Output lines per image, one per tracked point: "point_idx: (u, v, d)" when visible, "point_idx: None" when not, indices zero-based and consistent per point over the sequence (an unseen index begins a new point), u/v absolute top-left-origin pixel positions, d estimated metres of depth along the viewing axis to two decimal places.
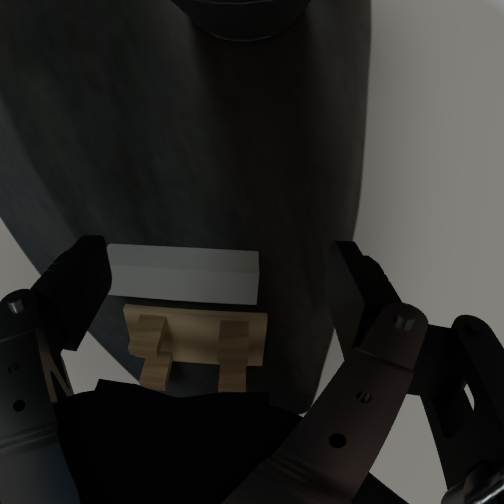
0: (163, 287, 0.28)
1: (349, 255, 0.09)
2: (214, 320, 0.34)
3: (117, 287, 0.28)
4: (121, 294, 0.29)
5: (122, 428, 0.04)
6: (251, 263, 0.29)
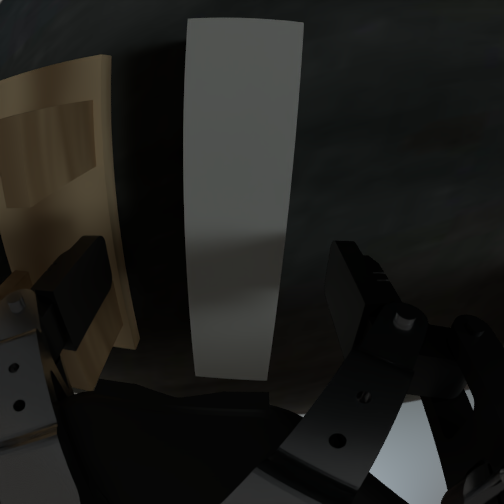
0: (226, 212, 0.11)
1: (349, 255, 0.09)
2: None
3: (216, 71, 0.09)
4: (191, 82, 0.09)
5: (122, 428, 0.04)
6: None
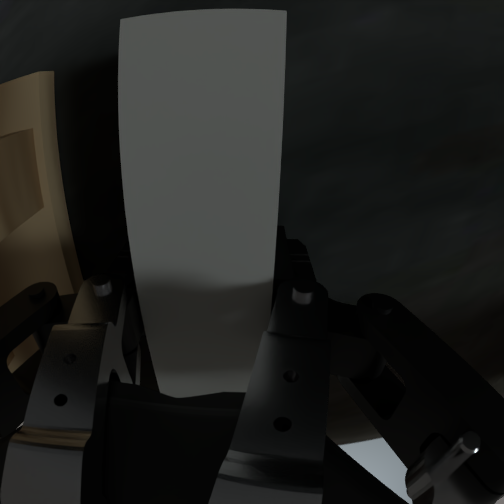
0: (190, 286, 0.08)
1: None
2: None
3: (160, 92, 0.06)
4: (127, 109, 0.06)
5: (122, 428, 0.04)
6: None
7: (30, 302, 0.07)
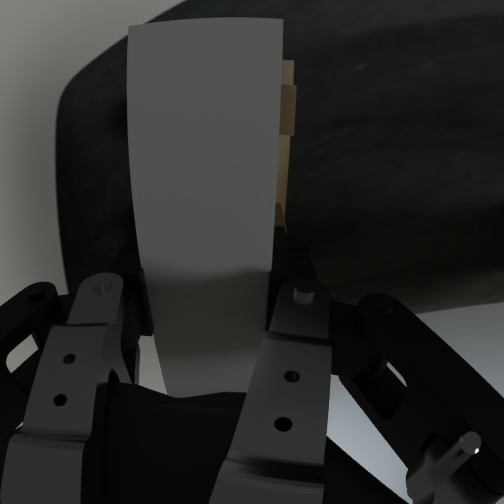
0: (193, 276, 0.09)
1: (273, 238, 0.10)
2: (279, 194, 0.24)
3: (166, 94, 0.06)
4: (135, 111, 0.07)
5: (122, 428, 0.04)
6: None
7: (29, 302, 0.07)
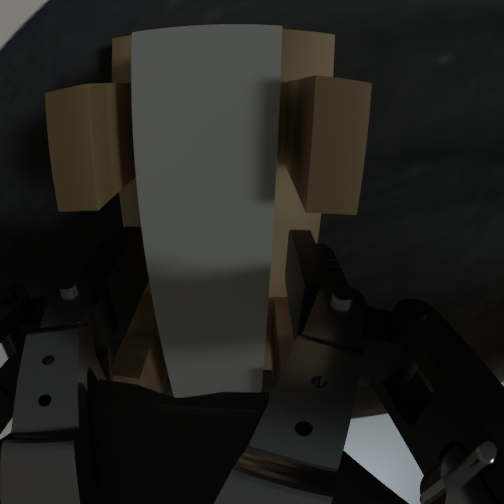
0: (196, 272, 0.09)
1: (301, 242, 0.10)
2: None
3: (169, 99, 0.07)
4: (140, 114, 0.07)
5: (122, 428, 0.04)
6: None
7: (3, 305, 0.06)
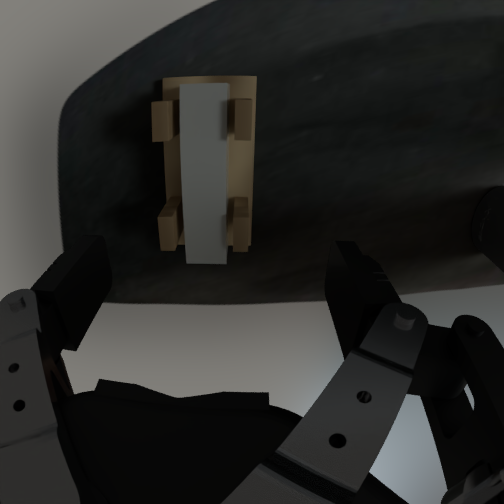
0: (199, 166, 0.24)
1: (349, 255, 0.09)
2: (246, 190, 0.29)
3: (192, 107, 0.22)
4: (182, 111, 0.22)
5: (122, 428, 0.04)
6: None
7: None
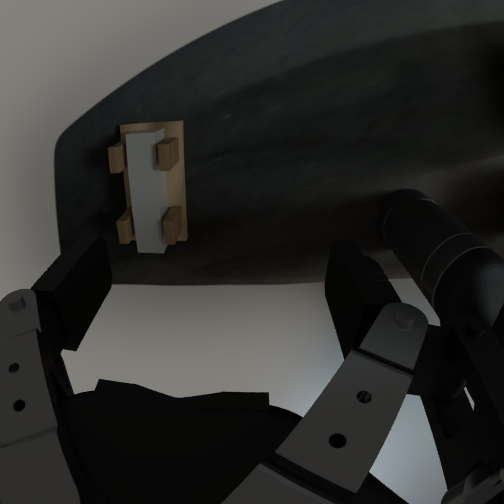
0: (141, 188, 0.35)
1: (349, 255, 0.09)
2: (180, 201, 0.40)
3: (134, 149, 0.33)
4: (128, 152, 0.33)
5: (122, 428, 0.04)
6: None
7: None
